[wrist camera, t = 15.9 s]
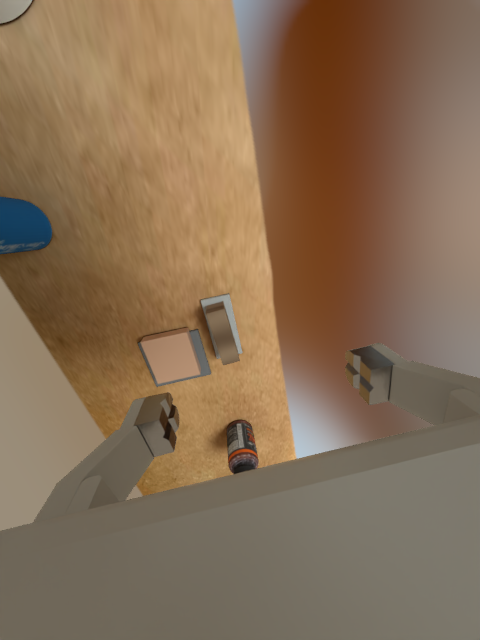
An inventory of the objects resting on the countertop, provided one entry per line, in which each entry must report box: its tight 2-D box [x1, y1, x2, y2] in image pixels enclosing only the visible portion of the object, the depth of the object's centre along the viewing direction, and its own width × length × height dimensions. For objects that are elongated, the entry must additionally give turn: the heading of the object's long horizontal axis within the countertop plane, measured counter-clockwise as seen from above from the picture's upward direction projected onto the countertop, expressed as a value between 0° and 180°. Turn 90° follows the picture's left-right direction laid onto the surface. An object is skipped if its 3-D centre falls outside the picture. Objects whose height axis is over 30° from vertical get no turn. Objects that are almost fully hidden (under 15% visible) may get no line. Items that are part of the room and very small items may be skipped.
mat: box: [138, 329, 211, 387], centre depth 42 cm, size 10×11×1 cm
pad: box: [201, 293, 242, 359], centre depth 40 cm, size 12×5×1 cm, turn 11°
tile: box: [140, 327, 201, 384], centre depth 40 cm, size 2×8×9 cm
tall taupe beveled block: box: [206, 301, 240, 365], centre depth 38 cm, size 10×3×4 cm, turn 14°
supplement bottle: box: [227, 420, 258, 474], centre depth 46 cm, size 6×6×11 cm
